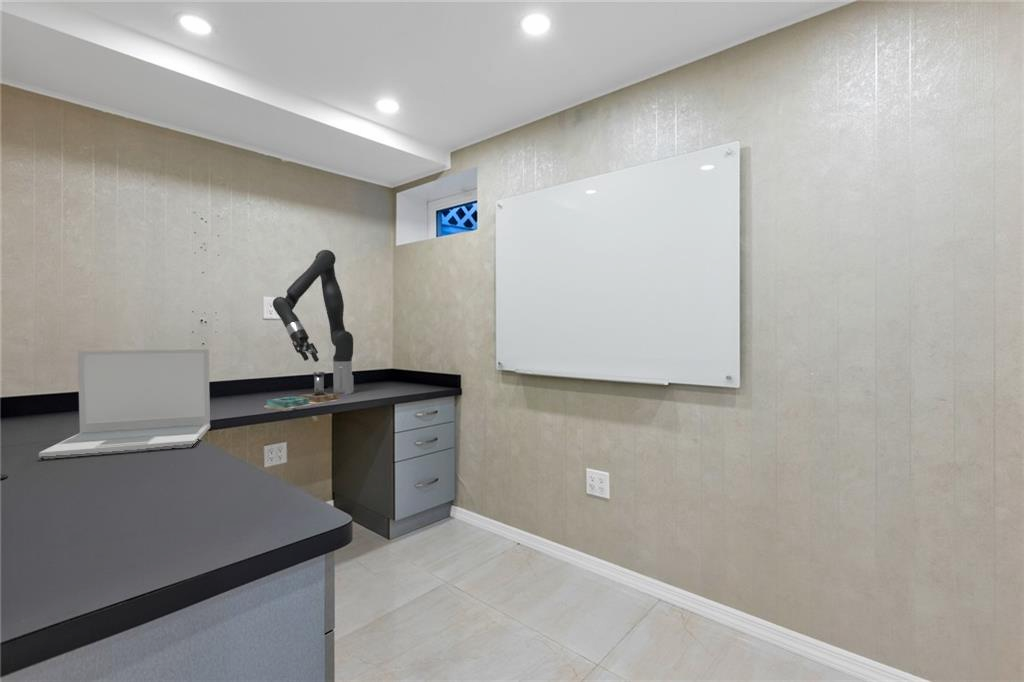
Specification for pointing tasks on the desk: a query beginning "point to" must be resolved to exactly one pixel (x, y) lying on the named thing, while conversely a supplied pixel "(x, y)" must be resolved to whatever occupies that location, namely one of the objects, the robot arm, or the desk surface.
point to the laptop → (139, 400)
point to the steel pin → (319, 383)
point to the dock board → (299, 401)
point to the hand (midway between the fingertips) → (312, 360)
